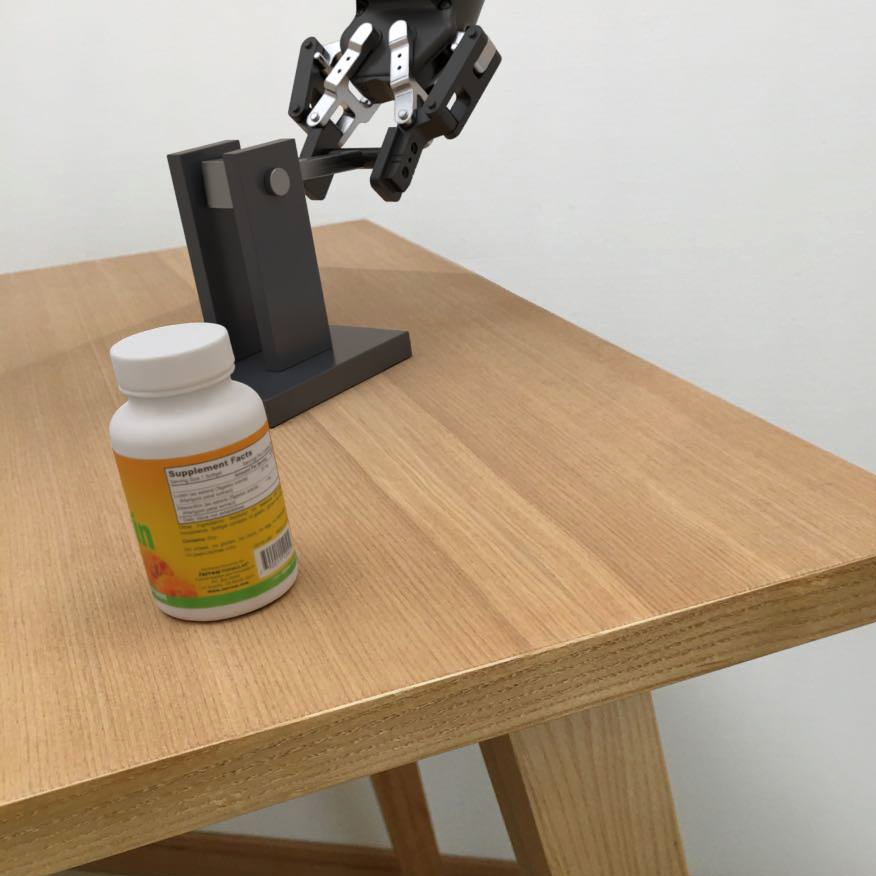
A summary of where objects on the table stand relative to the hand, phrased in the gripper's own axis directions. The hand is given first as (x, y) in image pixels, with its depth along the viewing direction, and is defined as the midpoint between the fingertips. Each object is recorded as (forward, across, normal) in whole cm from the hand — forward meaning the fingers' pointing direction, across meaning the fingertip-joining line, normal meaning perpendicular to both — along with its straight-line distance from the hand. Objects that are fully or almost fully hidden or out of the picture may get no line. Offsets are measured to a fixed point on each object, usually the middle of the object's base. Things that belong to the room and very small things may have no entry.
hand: (345, 192), depth 71 cm
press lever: (+2, 0, -3) cm, 4 cm away
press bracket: (+12, 0, 0) cm, 12 cm away
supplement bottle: (+26, +16, -14) cm, 34 cm away
